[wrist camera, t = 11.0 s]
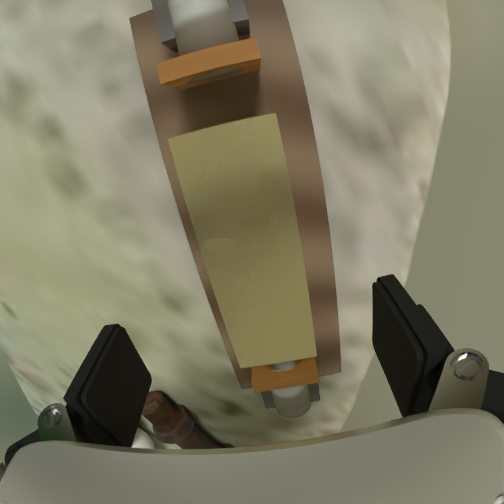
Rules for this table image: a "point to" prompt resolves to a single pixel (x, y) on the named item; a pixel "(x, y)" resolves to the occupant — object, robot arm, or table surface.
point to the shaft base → (232, 108)
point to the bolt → (175, 424)
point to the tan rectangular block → (248, 236)
